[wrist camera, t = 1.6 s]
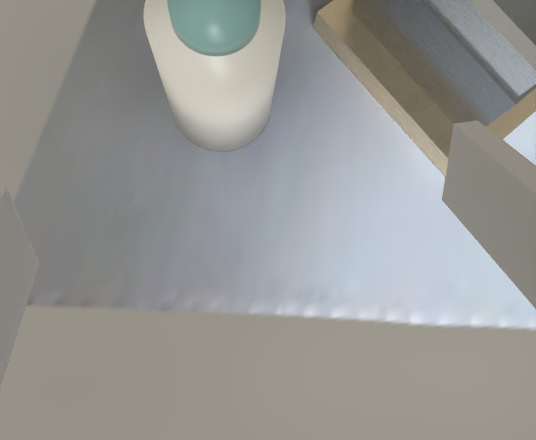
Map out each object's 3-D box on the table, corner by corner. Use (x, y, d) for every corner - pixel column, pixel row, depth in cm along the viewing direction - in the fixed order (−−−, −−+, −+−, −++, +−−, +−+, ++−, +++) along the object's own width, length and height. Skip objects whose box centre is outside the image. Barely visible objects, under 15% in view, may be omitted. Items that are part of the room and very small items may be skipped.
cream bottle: (290, 112, 36) (318, 13, 24) (213, 171, 35) (202, 98, 23) (229, 40, 37) (225, -91, 25) (151, 96, 35) (108, -13, 23)
